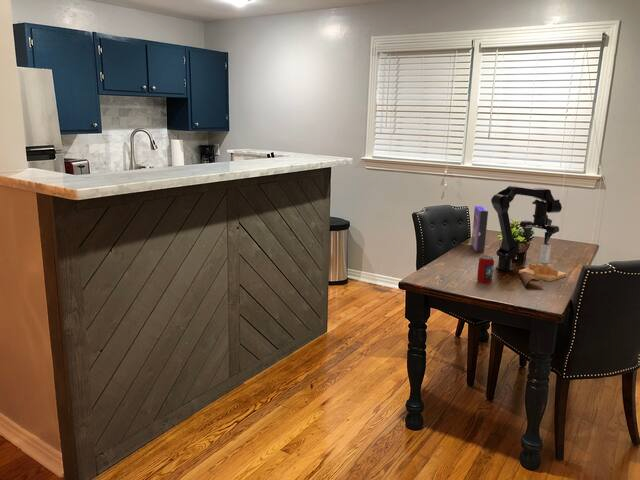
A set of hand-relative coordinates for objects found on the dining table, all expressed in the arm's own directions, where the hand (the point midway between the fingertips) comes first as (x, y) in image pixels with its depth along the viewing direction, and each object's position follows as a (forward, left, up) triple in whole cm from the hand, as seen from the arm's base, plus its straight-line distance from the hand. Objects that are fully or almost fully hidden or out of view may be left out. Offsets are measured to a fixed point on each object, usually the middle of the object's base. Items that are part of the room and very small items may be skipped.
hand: (536, 242), depth 265 cm
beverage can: (-45, -2, -13) cm, 47 cm away
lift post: (-9, -10, -7) cm, 15 cm away
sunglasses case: (-28, -16, -14) cm, 35 cm away
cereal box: (+9, +42, -13) cm, 45 cm away
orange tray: (-9, -10, -13) cm, 19 cm away
